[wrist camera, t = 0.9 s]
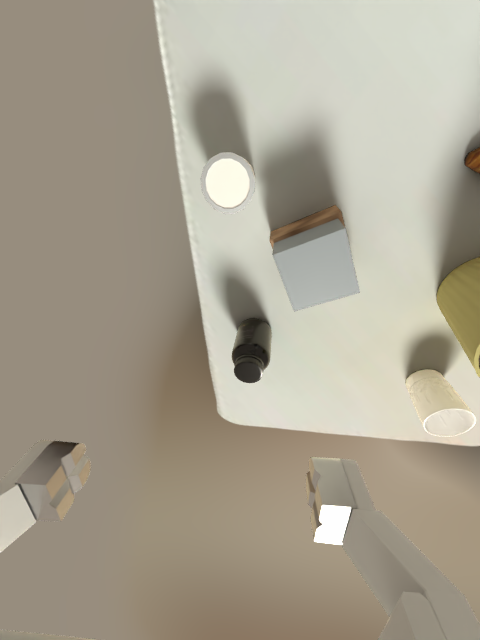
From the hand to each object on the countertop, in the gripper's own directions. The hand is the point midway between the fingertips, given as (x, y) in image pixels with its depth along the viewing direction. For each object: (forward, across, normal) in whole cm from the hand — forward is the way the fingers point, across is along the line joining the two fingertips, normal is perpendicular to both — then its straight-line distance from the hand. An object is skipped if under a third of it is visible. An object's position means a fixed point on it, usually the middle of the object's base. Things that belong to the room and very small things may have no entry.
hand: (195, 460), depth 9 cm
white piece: (+37, +1, -12) cm, 39 cm away
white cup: (+40, -37, +24) cm, 60 cm away
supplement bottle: (+41, -2, +14) cm, 43 cm away
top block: (+32, -10, -1) cm, 34 cm away
